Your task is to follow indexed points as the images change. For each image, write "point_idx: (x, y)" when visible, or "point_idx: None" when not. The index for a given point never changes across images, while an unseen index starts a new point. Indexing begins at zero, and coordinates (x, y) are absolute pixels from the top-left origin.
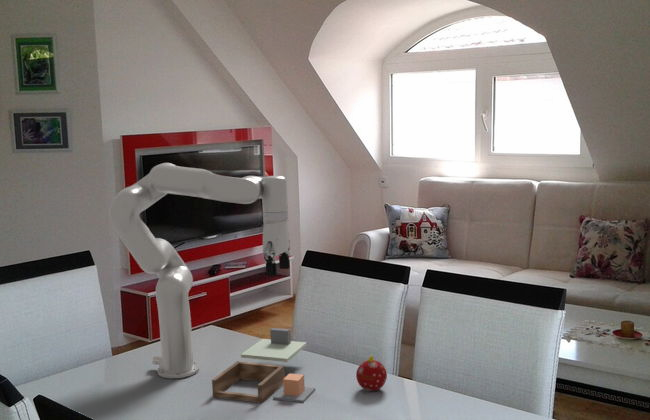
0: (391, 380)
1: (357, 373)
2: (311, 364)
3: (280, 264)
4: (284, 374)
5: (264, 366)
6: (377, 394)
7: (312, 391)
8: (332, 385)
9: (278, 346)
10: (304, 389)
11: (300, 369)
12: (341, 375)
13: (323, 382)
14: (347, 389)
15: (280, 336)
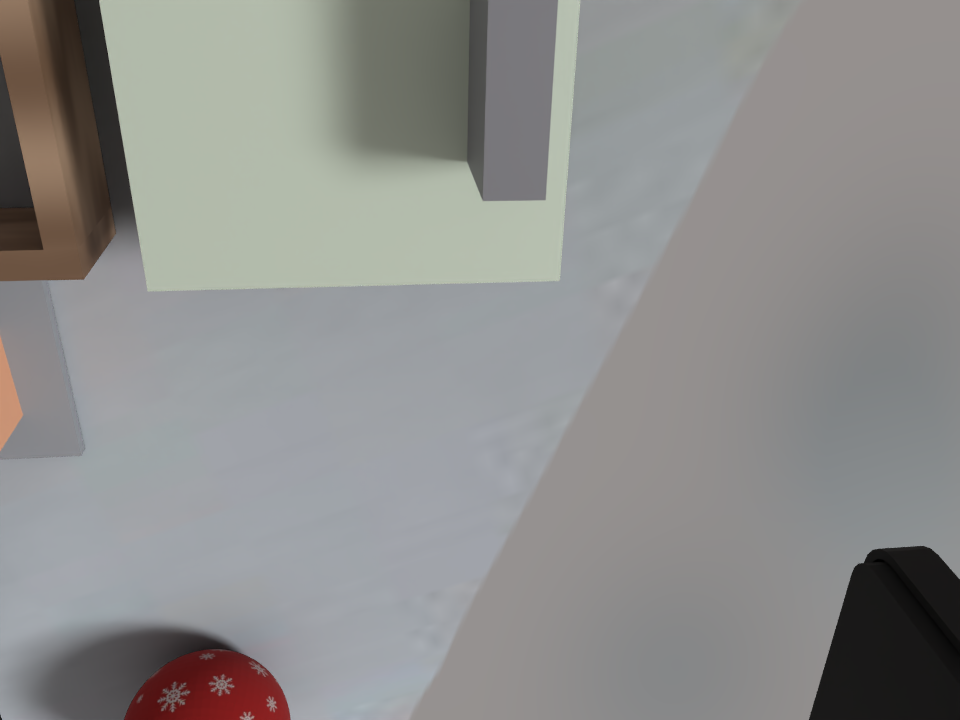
0: (367, 701)
1: (145, 712)
2: None
3: (915, 669)
4: (101, 253)
5: (18, 121)
6: None
7: (35, 456)
8: (195, 502)
9: (406, 91)
10: (18, 418)
11: None
12: (356, 493)
13: (217, 446)
14: (174, 581)
15: (477, 103)
